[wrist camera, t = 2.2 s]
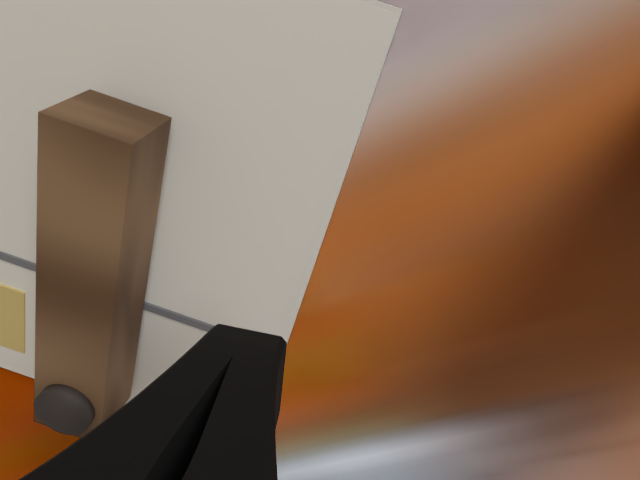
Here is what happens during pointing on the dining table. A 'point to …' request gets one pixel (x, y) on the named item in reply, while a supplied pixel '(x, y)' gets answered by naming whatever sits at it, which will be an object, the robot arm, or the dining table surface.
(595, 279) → the dining table surface
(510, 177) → the dining table surface
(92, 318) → the bar
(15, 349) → the latch board
